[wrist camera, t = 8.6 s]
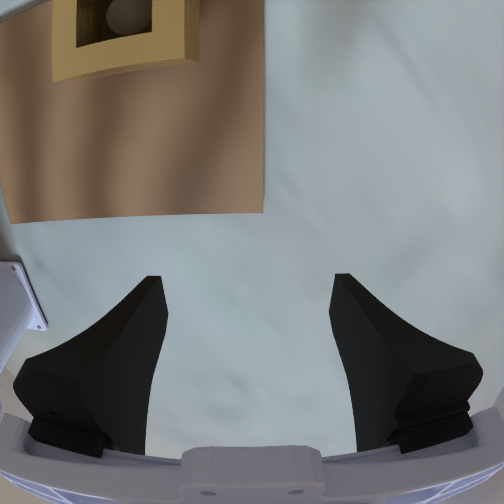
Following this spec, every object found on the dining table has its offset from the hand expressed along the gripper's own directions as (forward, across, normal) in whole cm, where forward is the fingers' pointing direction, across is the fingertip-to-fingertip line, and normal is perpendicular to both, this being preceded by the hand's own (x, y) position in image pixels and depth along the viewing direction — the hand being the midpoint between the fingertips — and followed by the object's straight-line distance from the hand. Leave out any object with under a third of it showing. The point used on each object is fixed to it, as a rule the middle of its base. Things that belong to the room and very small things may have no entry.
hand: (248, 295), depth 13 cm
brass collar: (+5, +5, -12) cm, 14 cm away
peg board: (+9, +9, -8) cm, 15 cm away
